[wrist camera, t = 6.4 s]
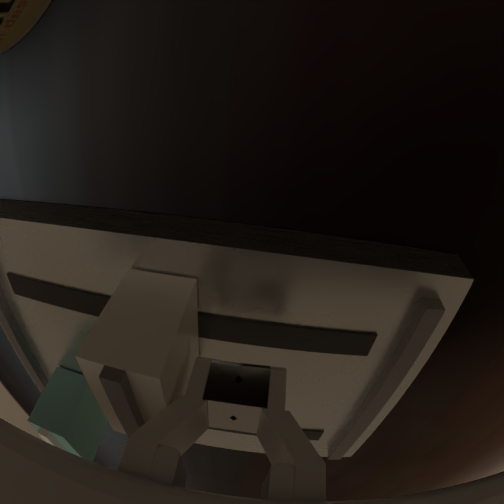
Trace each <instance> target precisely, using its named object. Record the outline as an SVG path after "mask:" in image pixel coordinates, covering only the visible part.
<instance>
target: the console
mask: <svg viewBox="0 0 504 504" xmlns="http://www.w3.org/2000/svg"><path fill="white" fill-rule="evenodd" d="M129 269H135V270H141V271H147V272H154V273H160V274H167V275H173V276H180V277H186V278H193V279H197V309H198V340H199V356H200V357H206V358H212V359H217V360H223V361H229V362H235V363H247V364H256V365H265V366H270V367H281V368H286V370H287V378H286V402H285V411H290V412H291V414H292V415H293V417H294V418H295V420H296V421H297V423H298V424H299V426H300V427H301V429H302V430H303V432H304V433H305V435H306V436H307V438H308V439H309V441H310V442H311V444H312V445H313V446H314V448H315V449H316V451H317V452H318V454H319V455H320V457H328V459H341V458H342V457H351V456H352V455H353V454H354V453H355V452H356V451H357V450H358V448H359V447H360V446H361V445H362V444H363V443H364V442H365V441H366V439H367V438H368V437H369V436H370V435H371V434H372V433H373V431H374V430H375V429H376V428H377V427H378V426H379V424H380V423H381V422H382V421H383V419H384V418H385V417H386V416H387V415H388V413H389V412H390V411H391V410H392V408H393V407H394V406H395V404H396V403H397V402H398V401H399V399H400V398H401V397H402V395H403V394H404V393H405V391H406V390H407V389H408V387H409V386H410V384H411V383H412V382H413V380H414V379H415V378H416V376H417V375H418V373H419V372H420V370H421V369H422V367H423V366H424V364H425V363H426V362H427V360H428V359H429V357H430V355H431V354H432V352H433V351H434V349H435V348H436V346H437V345H438V343H439V341H440V340H441V338H442V337H443V335H444V333H445V332H446V330H447V328H448V327H449V325H450V323H451V321H452V320H453V318H454V316H455V315H456V313H457V311H458V309H459V307H460V306H461V304H462V302H463V300H464V298H465V296H466V294H467V292H468V291H469V289H470V287H471V285H472V283H473V281H474V278H473V277H472V275H471V274H470V272H469V271H468V269H467V268H466V266H465V265H464V263H463V262H462V260H461V259H460V257H459V256H458V255H455V254H449V253H443V252H437V251H431V250H425V249H419V248H412V247H406V246H400V245H393V244H387V243H380V242H374V241H367V240H360V239H353V238H346V237H340V236H333V235H325V234H318V233H311V232H304V231H296V230H289V229H281V228H274V227H266V226H258V225H250V224H242V223H234V222H226V221H218V220H209V219H201V218H192V217H183V216H175V215H166V214H156V213H147V212H137V211H128V210H118V209H108V208H97V207H87V206H76V205H64V204H53V203H41V202H28V201H15V200H2V199H0V324H1V326H2V328H3V330H4V331H5V333H6V335H7V337H8V339H9V341H10V343H11V344H12V346H13V348H14V350H15V352H16V353H17V355H18V357H19V358H20V360H21V362H22V363H23V365H24V367H25V368H26V370H27V372H28V373H29V375H30V376H31V378H32V379H33V381H34V383H35V384H36V386H37V387H38V389H39V390H40V392H41V393H42V392H43V390H44V388H45V386H46V385H47V383H48V381H49V379H50V377H51V376H52V374H53V372H54V370H55V369H56V367H57V366H58V367H61V368H64V369H66V370H69V371H72V372H75V373H78V374H81V375H84V374H83V372H82V370H81V368H80V366H79V364H78V361H77V359H76V357H75V356H76V354H77V352H78V351H79V349H80V347H81V345H82V344H83V342H84V340H85V339H86V337H87V335H88V334H89V332H90V330H91V329H92V327H93V325H94V324H95V322H96V320H97V319H98V317H99V315H100V314H101V312H102V311H103V309H104V307H105V306H106V304H107V303H108V301H109V299H110V298H111V296H112V295H113V293H114V292H115V290H116V288H117V287H118V285H119V284H120V282H121V281H122V279H123V278H124V276H125V275H126V273H127V272H128V270H129ZM194 443H198V444H203V445H209V446H215V447H221V448H227V449H234V450H242V451H250V452H259V453H265V451H264V449H263V447H262V445H261V443H260V441H259V439H258V437H257V435H256V433H249V432H242V431H236V430H229V429H221V428H213V427H208V429H207V430H206V431H205V432H204V433H203V434H202V435H201V436H200V437H199V438H198V439H197V440H196V441H195V442H194Z"/></svg>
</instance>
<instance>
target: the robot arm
mask: <svg viewBox="0 0 504 504" xmlns="http://www.w3.org/2000/svg"><path fill="white" fill-rule="evenodd" d="M286 378H287V370H286V368H281V367H270V366H265V365H256V364H247V363H235V362H229V361H223V360H217V359H212V358H206V357H200V356H197V358H196V359H195V362H194V366H193V369H192V373H191V376H190V380H189V383H188V387H187V390H186V394H185V396H180V397H178V398H177V399H176V400H175V401H173V402H172V403H171V404H170V405H168V406H167V408H165V409H163V410H162V411H161V412H159V413H158V414H157V415H156V416H154V417H153V418H152V419H150V420H149V421H148V422H147V423H145V424H144V425H143V426H141V427H140V428H139V429H137V430H136V431H135V432H134V433H132V434H131V435H130V437H129V439H128V442H127V445H126V448H125V451H124V454H123V457H122V460H121V463H120V465H119V468H118V470H115V469H112V468H109V467H106V466H103V465H101V464H98V463H95V462H92V461H90V460H87V459H84V458H82V457H79V456H77V455H74V454H72V453H70V452H67V451H65V450H63V449H60V448H58V447H56V446H53V445H51V444H49V443H47V442H45V441H42V440H41V439H39V438H36V437H34V436H32V435H30V434H28V433H26V432H25V431H22V430H20V429H19V428H17V427H15V426H13V425H11V424H10V423H8V422H6V421H4V420H3V419H1V418H0V504H504V472H500V473H497V474H494V475H491V476H488V477H485V478H481V479H478V480H474V481H471V482H467V483H463V484H459V485H455V486H451V487H446V488H442V489H437V490H432V491H427V492H421V493H416V494H409V495H403V496H395V497H387V498H378V499H367V500H353V501H328V502H326V464H325V462H324V461H323V459H322V458H321V457H320V455H319V454H318V452H317V451H316V449H315V448H314V446H313V445H312V444H311V442H310V441H309V439H308V438H307V436H306V435H305V433H304V432H303V430H302V429H301V427H300V426H299V424H298V423H297V421H296V420H295V418H294V417H293V415H292V414H291V412H290V411H285V402H286ZM208 427H213V428H221V429H229V430H236V431H242V432H249V433H256V435H257V437H258V439H259V441H260V443H261V445H262V447H263V449H264V451H265V453H266V455H267V456H268V458H269V460H270V462H271V464H272V466H271V468H270V470H269V472H268V475H267V477H266V479H265V481H264V483H263V485H262V491H261V499H253V498H243V497H235V496H228V495H221V494H214V493H208V492H202V491H197V490H192V489H187V488H184V487H185V482H186V478H187V474H186V471H185V468H184V465H183V461H182V458H181V455H182V454H183V453H184V452H185V451H186V450H187V449H188V448H189V447H190V446H191V445H192V444H193V443H194V442H195V441H196V440H197V439H198V438H199V437H200V436H201V435H202V434H203V433H204V432H205V431H206V430H207V429H208Z"/></svg>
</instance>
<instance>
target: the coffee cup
mask: <svg viewBox="0 0 504 504" xmlns="http://www.w3.org/2000/svg"><path fill="white" fill-rule="evenodd" d="M51 1H52V0H0V54H1V53H3V52H5V51H7V50H8V49H10V48H11V47H12V46H14V45H15V44H16V43H18V42H19V41H20V40H21V39H22V38H23V37H24V36H25V35H26V34H27V33H28V32H29V31H30V30H31V29H32V28H33V27H34V25H35V24H36V23H37V22H38V20H39V19H40V18H41V16H42V15H43V14H44V12H45V11H46V9H47V8H48V6H49V5H50V3H51Z"/></svg>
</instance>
